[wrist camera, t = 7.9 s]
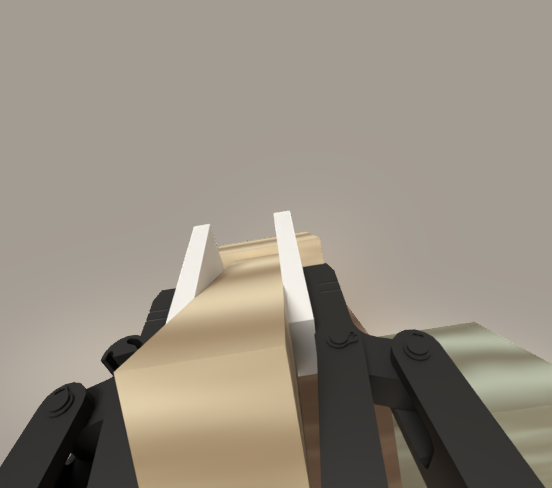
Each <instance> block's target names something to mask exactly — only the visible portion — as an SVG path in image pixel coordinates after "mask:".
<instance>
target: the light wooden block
mask: <svg viewBox="0 0 552 488" xmlns="http://www.w3.org/2000/svg"><path fill="white" fill-rule="evenodd" d="M295 237H296V241H297V246H298V250H299V255H300V259H301V264H302V267H305V266H311V265H317V264H323V263H324V262H323V255H322V248H321V242H320V238H318V237H316V236H314V235H312V234H310V233H308V232H301V233H295ZM218 251H219V254H220V257H221V260H222V263H223V266H224V271H223V272H222V273H221V274H220V275H219V276H218V277H217V278H216V279H214V280H213V281H212V282H211V283H210V284H209V285H208V286H207V287H206V288H205V289H204V290H203V291H201V292H200V293H199V294H198V295H197V296H196V297H195V298H194V299H193V300H192V301H190V302H189V303H188V304H187V305H186V306H185V307H184V308H183V309H182V310H181V311H180V312H179V313H177V314H176V315H175V316H174V317H173V318H172V319H171V320H170V321H169V322H168V323H167V324H166V325H164V326H163V327H162V328H161V329H160V330H159V331H158V332H157V333H156V334H155V335H154V336H153V337H151V338H150V339H149V340H148V341H147V342H146V343H145V344H144V345H143V346H142V347H141V348H140V349H138V350H137V351H136V352H135V353H134V354H133V355H132V356H131V357H130V358H129V359H128V360H127V361H126V362H124V363H123V364H122V365H121V366H120V367H119V368H118V369H117V370H116V371H115V372H114V376H115V381H116V385H117V390H118V395H119V399H120V404H121V408H122V413H123V417H124V422H125V427H126V431H127V436H128V440H129V445H130V450H131V454H132V459H133V463H134V468H135V472H136V477H137V482H138V486H139V488H310V479H309V470H308V461H307V452H306V443H305V434H304V425H303V416H302V407H301V398H300V389H299V380H298V372H297V367H296V362H295V356H294V351H293V346H292V341H291V336H290V330H289V325H288V318H287V311H286V303H285V296H284V288H283V283H282V275H281V267H280V259H279V252H278V244H277V236H276V237H270V238H264V239H258V240H253V241H247V242H240V243H235V244H228V245H223V246H221V247H219V248H218Z"/></svg>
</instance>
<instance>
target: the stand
mask: <svg viewBox="0 0 552 488" xmlns="http://www.w3.org/2000/svg"><path fill="white" fill-rule="evenodd" d="M347 308H348V306H347ZM348 311H349V314H350V316H351V319H352V321H353V323H354V325H355V326H356V327H357V328H358V329H359V330H361V331H362V332H364V333H366V334H368V333H367V332H366V330H365V329H364V328H363V326H362V325H361V324H360V322H359V321H358V320H357V318H356V317H355V316H354V314H353V313H352V311H351V310H350V309H349V308H348ZM419 331H423V332H425V333H427V334H429V335H431V336H433V337H434V338H435V339H436V340H437V341H438V342H439V343H440V344H441V346H442V347H443V348H444V350H445V351H446V352H447V354H448V355H449V356H450V358H451V359H452V361H453V362H454V363H455V365H456V366H457V367H458V369H459V370H460V372H461V373H462V374H463V376H464V377H465V378H466V380H467V381H468V382H469V384H470V385H471V387H472V388H473V389H474V391H475V392H476V393H477V395H478V396H479V397H480V399H481V400H482V402H483V403H484V404H485V406H486V407H487V408H488V410H489V411H490V413H491V414H492V415H493V417H494V418H495V419H496V421H497V422H498V423H499V425H500V426H501V428H502V429H503V430H504V432H505V433H506V434H507V436H508V437H509V438H510V440H511V441H512V443H513V444H514V445H515V447H516V448H517V449H518V451H519V452H520V454H521V455H522V456H523V458H524V459H525V460H526V462H527V463H528V464H529V466H530V467H531V469H532V470H533V471H534V473H535V474H536V475H537V477H538V478H539V479H540V481H541V482H542V484H543V485H544V486H545V488H552V364H551V363H549V362H547V361H545V360H543V359H541V358H540V357H537V356H536V355H534V354H532V353H530V352H529V351H527V350H525V349H523V348H521V347H519V346H518V345H516V344H514V343H512V342H510V341H508V340H506V339H504V338H503V337H501V336H499V335H497V334H495V333H493V332H492V331H490V330H488V329H486V328H484V327H482V326H481V325H479V324H477V323H475V322H472V323H465V324H459V325H452V326H446V327H439V328H432V329H426V330H419ZM368 335H369V334H368ZM395 335H396V334H393V335H386V336H380V337H382V338H390V339H393V338H394V337H395ZM298 380H299V389H300V398H301V407H302V416H303V425H304V434H305V443H306V452H307V461H308V470H309V479H310V488H321V468H320V436H319V405H318V374H312V375H305V376H299V377H298ZM374 409H375V415H376V420H377V426H378V432H379V437H380V443H381V449H382V454H383V460H384V465H385V471H386V477H387V482H388V488H427V486H426V484H425V482H424V480H423V478H422V476H421V474H420V471H419V469H418V467H417V465H416V463H415V461H414V459H413V456H412V454H411V452H410V450H409V448H408V446H407V444H406V441H405V439H404V437H403V435H402V433H401V431H400V429H399V426H398V424H397V422H396V420H395V418H394V416H393V414H392V411H391V409H390V407H386V406H381V405H376V404H374Z"/></svg>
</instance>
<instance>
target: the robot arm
mask: <svg viewBox="0 0 552 488" xmlns="http://www.w3.org/2000/svg"><path fill="white" fill-rule="evenodd" d="M274 220H275V229H276V236H277V244H278V252H279V259H280V267H281V275H282V283H283V288H284V296H285V303H286V311H287V318H288V325H289V330H290V336H291V341H292V346H293V351H294V356H295V362H296V367H297V372H298V377H299V376H305V375H312V374H318V405H319V436H320V468H321V488H388V482H387V477H386V471H385V465H384V460H383V454H382V449H381V443H380V437H379V432H378V426H377V420H376V415H375V409H374V404H376V405H381V406H386V407H390V409H391V411H392V414H393V416H394V418H395V420H396V422H397V424H398V426H399V429H400V431H401V433H402V435H403V437H404V439H405V441H406V444H407V446H408V448H409V450H410V452H411V454H412V456H413V459H414V461H415V463H416V465H417V467H418V469H419V471H420V474H421V476H422V478H423V480H424V482H425V484H426V486H427V488H545V486H544V485H543V484H542V482H541V481H540V479H539V478H538V477H537V475H536V474H535V473H534V471H533V470H532V469H531V467H530V466H529V464H528V463H527V462H526V460H525V459H524V458H523V456H522V455H521V454H520V452H519V451H518V449H517V448H516V447H515V445H514V444H513V443H512V441H511V440H510V438H509V437H508V436H507V434H506V433H505V432H504V430H503V429H502V428H501V426H500V425H499V423H498V422H497V421H496V419H495V418H494V417H493V415H492V414H491V413H490V411H489V410H488V408H487V407H486V406H485V404H484V403H483V402H482V400H481V399H480V397H479V396H478V395H477V393H476V392H475V391H474V389H473V388H472V387H471V385H470V384H469V382H468V381H467V380H466V378H465V377H464V376H463V374H462V373H461V372H460V370H459V369H458V367H457V366H456V365H455V363H454V362H453V361H452V359H451V358H450V356H449V355H448V354H447V352H446V351H445V350H444V348H443V347H442V346H441V344H440V343H439V342H438V341H437V340H436V339H435V338H434V337H433V336H431V335H429V334H427V333H425V332H423V331H419V330H404V331H401V332H399V333H398V334H396V335H395V337H394V338H393V339H390V338H382V337H375V336H371V335H368V334H366V333H364V332H362V331H361V330H359V329H358V328H357V327H356V326H355V325H354V323H353V321H352V319H351V316H350V314H349V311H348V308H347V305H346V302H345V300H344V297H343V294H342V291H341V289H340V285H339V283H338V280H337V277H336V274H335V271H334V270H333V269H332V268H331V267H330V266H329V265H328V264H326V263H323V264H317V265H311V266H305V267H302V264H301V259H300V255H299V250H298V246H297V241H296V237H295V232H294V228H293V224H292V219H291V215H290V211H284V212H278V213H274ZM223 271H224V266H223V263H222V260H221V257H220V254H219V251H218V247H217V244H216V241H215V238H214V235H213V232H212V229H211V226H210V224H207V225H202V226H196V227H194V229H193V232H192V236H191V239H190V243H189V246H188V249H187V253H186V256H185V259H184V263H183V266H182V270H181V273H180V277H179V280H178V283H177V287H176V288H175V289H169V290H162V291H161V292H160V293H159V295H158V296H157V297H156V298H155V299H154V301H153V303H152V306H151V309H150V313H149V314H148V317H147V322H146V323H145V325H144V328H143V331H142V333H141V336H139V335H132V336H127V337H125V338H122V339H120V340H118V341H117V342H115V343H114V344H113V345H111V346H110V347H109V349H108V350H107V351H106V352H105V353H104V355H103V357H102V359H101V362H102V363H103V364H104V365H105V367H106V368H107V369H108V370H109V371H110V373H111V374H112V375H113V377H112V378H110V379H108V380H106V381H104V382H101V383H99V384H97V385H95V386H92V387H90V388H88V389H86V388H85V387H84V386H83V385H82V384H81V383H75V382H73V383H69V384H65V385H63V386H62V387H60V388H58V389H56V390H55V391H53V392H52V393H51V394H50V395H49V396H47V397H46V399H45V400H44V401H43V402H42V404H41V405H40V406H39V408H38V409H37V411H36V412H35V414H34V415H33V417H32V419H31V420H30V422H29V423H28V425H27V426H26V428H25V430H24V431H23V432H22V434H21V436H20V437H19V439H18V440H17V442H16V443H15V445H14V447H13V448H12V450H11V451H10V453H9V454H8V456H7V457H6V459H5V460H4V462H3V464H2V465H1V467H0V488H139V486H138V482H137V477H136V472H135V468H134V463H133V459H132V454H131V450H130V445H129V440H128V436H127V431H126V427H125V422H124V417H123V413H122V408H121V404H120V399H119V395H118V390H117V385H116V381H115V376H114V372H115V371H116V370H117V369H118V368H119V367H120V366H121V365H122V364H123V363H124V362H126V361H127V360H128V359H129V358H130V357H131V356H132V355H133V354H134V353H135V352H136V351H137V350H138V349H140V348H141V347H142V346H143V345H144V344H145V343H146V342H147V341H148V340H149V339H150V338H151V337H153V336H154V335H155V334H156V333H157V332H158V331H159V330H160V329H161V328H162V327H163V326H164V325H166V324H167V323H168V322H169V321H170V320H171V319H172V318H173V317H174V316H175V315H176V314H177V313H179V312H180V311H181V310H182V309H183V308H184V307H185V306H186V305H187V304H188V303H189V302H190V301H192V300H193V299H194V298H195V297H196V296H197V295H198V294H199V293H200V292H201V291H203V290H204V289H205V288H206V287H207V286H208V285H209V284H210V283H211V282H212V281H213V280H214V279H216V278H217V277H218V276H219V275H220V274H221V273H222V272H223ZM70 453H71V456H70V457H69V455H70ZM68 457H69V459H68ZM67 459H68V460H67Z"/></svg>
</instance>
